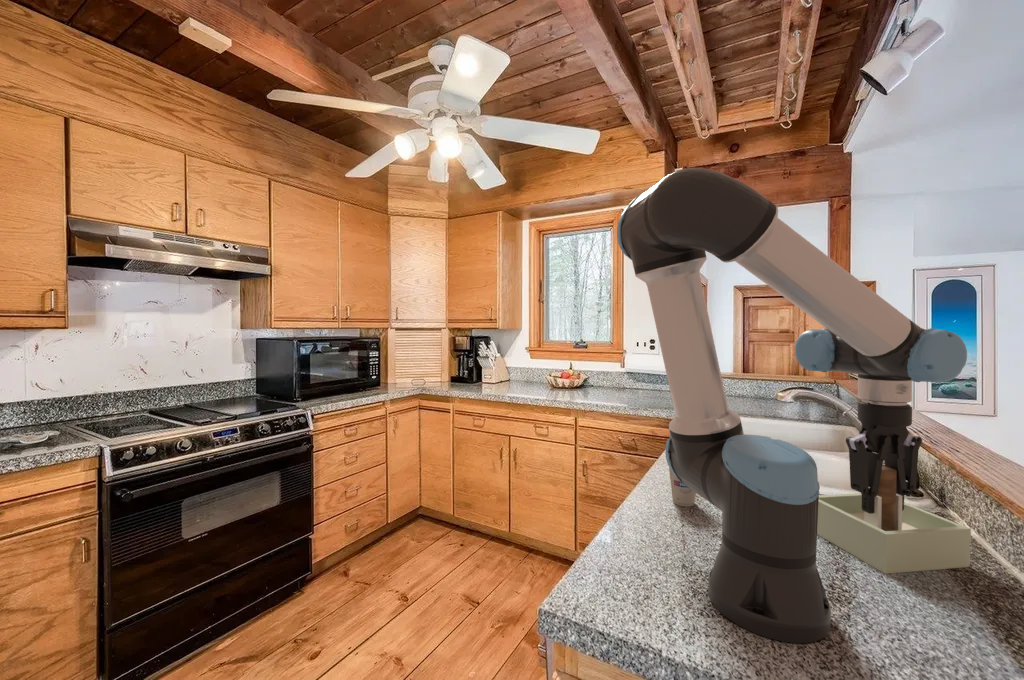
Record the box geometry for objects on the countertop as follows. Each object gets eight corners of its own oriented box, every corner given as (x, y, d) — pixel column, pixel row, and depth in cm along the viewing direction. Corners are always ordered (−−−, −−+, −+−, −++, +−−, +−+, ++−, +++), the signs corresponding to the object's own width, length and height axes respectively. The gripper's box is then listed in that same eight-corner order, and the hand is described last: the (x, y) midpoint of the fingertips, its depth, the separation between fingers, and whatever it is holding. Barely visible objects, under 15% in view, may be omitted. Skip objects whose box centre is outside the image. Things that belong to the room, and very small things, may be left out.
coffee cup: (667, 494, 103) (667, 453, 103) (698, 498, 101) (699, 456, 101) (667, 506, 97) (667, 462, 96) (701, 510, 94) (701, 465, 94)
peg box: (884, 573, 70) (886, 534, 70) (806, 528, 86) (807, 496, 86) (969, 566, 72) (970, 528, 72) (877, 523, 88) (878, 492, 88)
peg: (883, 538, 77) (884, 472, 77) (864, 529, 81) (865, 466, 80) (900, 537, 78) (902, 471, 77) (881, 528, 81) (882, 465, 81)
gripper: (862, 407, 74) (861, 542, 75) (946, 403, 76) (944, 535, 77) (825, 400, 81) (824, 522, 82) (903, 396, 83) (901, 516, 84)
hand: (882, 528), depth 79 cm, fingers closed on peg, 4 cm apart
